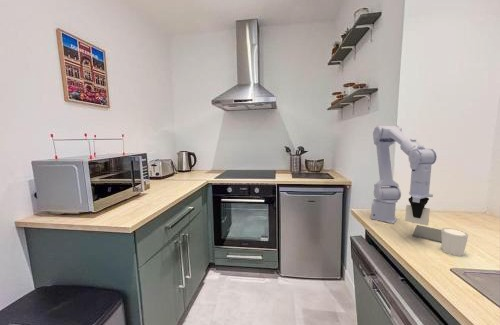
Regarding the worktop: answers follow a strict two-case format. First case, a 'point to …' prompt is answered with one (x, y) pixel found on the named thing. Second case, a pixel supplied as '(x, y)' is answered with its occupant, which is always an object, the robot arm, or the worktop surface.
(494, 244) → the worktop surface
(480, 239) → the worktop surface
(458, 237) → the white short cylinder
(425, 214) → the tile
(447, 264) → the worktop surface
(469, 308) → the worktop surface
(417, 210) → the robot arm
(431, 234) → the plate
